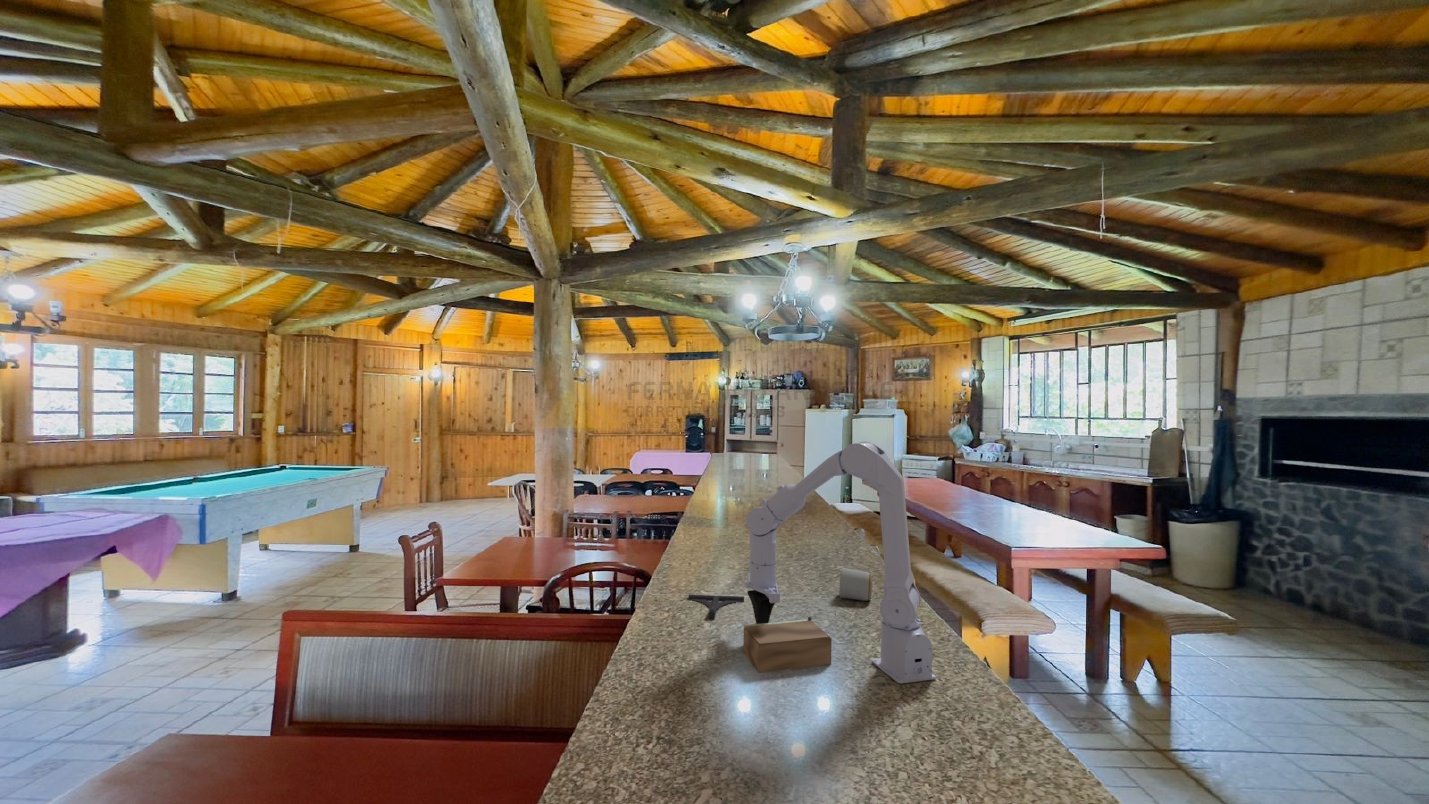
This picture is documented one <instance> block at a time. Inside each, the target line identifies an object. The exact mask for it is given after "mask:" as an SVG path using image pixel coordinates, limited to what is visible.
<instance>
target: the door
mask: <svg viewBox="0 0 1429 804" xmlns="http://www.w3.org/2000/svg"><path fill="white" fill-rule="evenodd" d="M800 621H808V618H807V619H806V618H805V619H797V620H786V621H776V622H775V621H774V622H769V623H762V624H756V623H753V624H743V629H744V628H745V627H747V626H758V625H768V624H779V623H789V622H800Z"/></svg>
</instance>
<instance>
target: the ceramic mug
mask: <svg viewBox="0 0 1429 804" xmlns="http://www.w3.org/2000/svg"><path fill="white" fill-rule="evenodd" d="M839 577H840V578H839V579H840V580H839V593H838V594H839V598H841V599H847V600H857V601H870V600H871V599H872V593H873V575H872V573H870V572H867V571H864V570H857V569H851V568H847V567H842V568H841V571H840V576H839Z"/></svg>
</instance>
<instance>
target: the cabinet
mask: <svg viewBox="0 0 1429 804" xmlns="http://www.w3.org/2000/svg"><path fill="white" fill-rule="evenodd" d="M807 620H808V621H800V622H789V623H779V624H768V625H758V626H747V627H745V628H744V627H743V649H742V652H743V654H744V656H745V657H746V658H747V659H748V661H749V662H750V664H751V665H752V666H753V668H754V669H755V670H756V671H757V672H758V674H761V673H762V674H763V673H770V672H777V670H778V672H779V670H780V671H786V669H788V670H792V669H793V670H795V669H802V668H803V669H804V668H810V667H811V668H812V667H820V666H828V665H832V642H833V641H832V637H831V635H829V634H828V633H826V631H824V630H823V629H822V628H821V627H819V626H818V625H817V624H816V623H815V622H814V621H813V620H812V617H811V616H807Z"/></svg>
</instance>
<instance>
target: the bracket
mask: <svg viewBox="0 0 1429 804" xmlns="http://www.w3.org/2000/svg"><path fill="white" fill-rule="evenodd" d="M689 599H690V600H689ZM688 600H689V601H691V600H692V602H697V603H699V602H701V603H700V604H702V603H703V605H704V604H705V606H706V607H708V609H709V611H708V620H709V619H710V620H715V619H716V614H717V611H718V610H719V609H720V608H722V607H724V606H728V604H729V605H732V603H734V604H737V603H736V602H741V603H744V602H745V596H743V595H742V596H740V595H739V596H738V595H737V596H736V595H715V594H714V595H712V594H711V595H710V594H709V595H707V594H688ZM708 600H712V601H708Z"/></svg>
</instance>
